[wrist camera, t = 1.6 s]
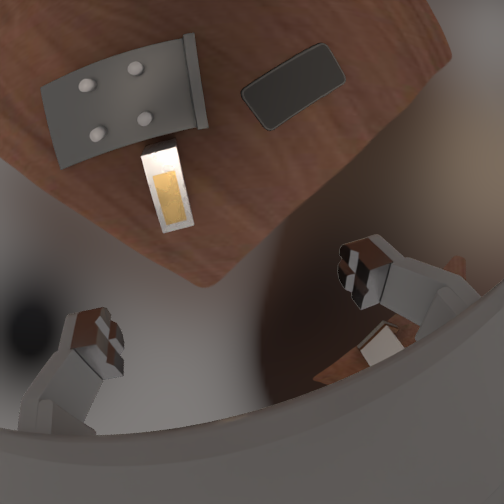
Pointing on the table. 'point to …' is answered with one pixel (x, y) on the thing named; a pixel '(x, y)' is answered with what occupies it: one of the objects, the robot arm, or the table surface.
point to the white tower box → (380, 343)
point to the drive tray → (125, 100)
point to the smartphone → (293, 86)
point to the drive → (167, 185)
